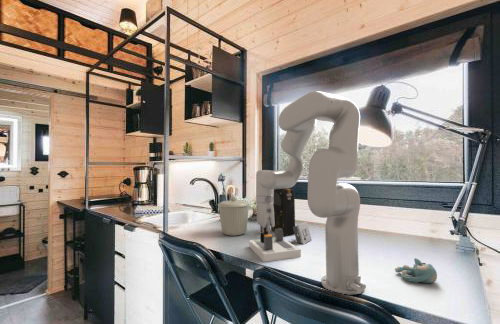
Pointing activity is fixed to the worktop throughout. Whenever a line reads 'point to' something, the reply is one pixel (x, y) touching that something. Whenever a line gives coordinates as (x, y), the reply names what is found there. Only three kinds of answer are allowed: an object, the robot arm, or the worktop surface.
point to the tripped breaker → (268, 242)
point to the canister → (233, 216)
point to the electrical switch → (302, 233)
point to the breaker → (279, 234)
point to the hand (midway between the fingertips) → (264, 242)
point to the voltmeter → (284, 210)
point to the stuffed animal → (418, 272)
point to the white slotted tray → (275, 250)
